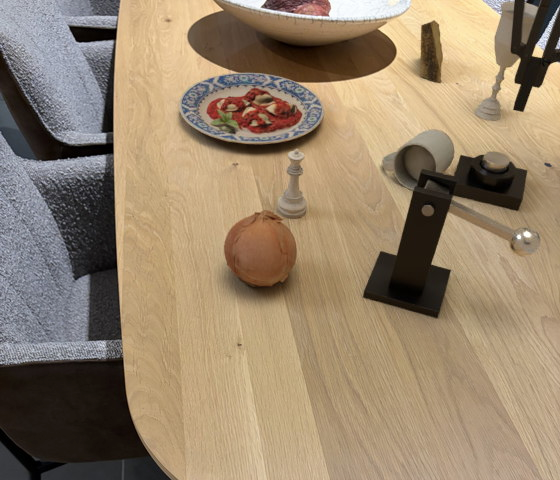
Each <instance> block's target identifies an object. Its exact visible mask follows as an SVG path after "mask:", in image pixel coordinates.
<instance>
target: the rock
mask: <svg viewBox="0 0 560 480" xmlns="http://www.w3.org/2000/svg"><path fill="white" fill-rule="evenodd" d="M440 30H441V29H440V23H438V22H437V21H436V20H435V19H434V20H431V21H430V22H426V23H424V24H421V25H420V76H421V77H422V78H425V79H427V80H429V81H432V82H438V83H441V82H442V64H443V61H444V54H443V48H442V47H443V46H442V42H441V31H440Z"/></svg>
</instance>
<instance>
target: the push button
mask: <svg viewBox="0 0 560 480" xmlns="http://www.w3.org/2000/svg"><path fill="white" fill-rule="evenodd" d="M483 155H484V157H483V160H482V163H481V168H482V169H483V170H485V171H487V172H489V173H493V174H504V173H505V172H506V170H507V167H508V165H509V162H510V161H511V160H510V157H509V156H508V155H507V154H505V153H503V152H500V151H496V150H495V151H487V152H485V153H484V154H483Z"/></svg>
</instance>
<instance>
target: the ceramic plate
mask: <svg viewBox="0 0 560 480" xmlns="http://www.w3.org/2000/svg"><path fill="white" fill-rule="evenodd" d="M178 109H179V113H180V115H181V117H182V118H183V119H184V121H185V122H186V123H187V124H188V125H189V126H191V127H192V128H193V129H195V130H197V131H199V133H202V134H204V135H206V136H209V137H211V138H215V139H217V140H221V141H225V142H229V143H238V144H243V145H269V144H279V143H283V142H288V141H293V140H295V139H299V138H301V137H303V136H305V135H307V134H309V133H311V132H312V131H313V130H315V129H316V128H318V126H319V125H320V124H321V122H322V121H323V119H324V115H325V106H324V104H323V101H322V100H321V98H320V97H319V96H318V95H317V94H316V92H314V91H312V90H311V89H310V88H308V87H307V86H305V85H303V84H301V83H299V82H297V81H294V80H292V79H289V78H287V77H286V78H285V77H282V76H278V75H274V74H267V73H259V72H233V73H225V74H220V75H219V74H218V75H214V76H211V77H208V78H205V79H203V80H200V81H197V82H195V83H194V84H191V86H189V87H188V88H187V89H186V90H185V91H184V92H183V93H182V95H181V96H180V98H179V102H178Z"/></svg>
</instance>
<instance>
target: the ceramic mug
mask: <svg viewBox="0 0 560 480" xmlns="http://www.w3.org/2000/svg"><path fill="white" fill-rule="evenodd" d="M454 157H455V145H454V143H453V140H452V139H451V137H450V136H449V135H448V134H447V133H446V132H444V131H443V130H440V129H437V128H434V129H433V128H431V129H426V130H424V131H422V132H420V133H418V134H417V135H415V136H414V137H413V138H411V139H409V140H408V141H406V142H405V143H404V144H402V145H401V146H400V147H399V148H398V149H397V150H396V151H394V152H393V151H392V152H391V153H389V154H387V155H385V156H384V157H382V159H381V163H382V169H383V170H384V171H387V172H393V174H394V176H395V179H396V180H397V181H398V182H399V184H401V186H403V187H404V188H406V189H408V190H411V191H413V190H414V187H415V186H417V183H418V179H419V176H420V172H421V170H422V169H425V170H430V171H434V172H438V173H442V174H445V172H446V171H447V170H448V169H449V168H450V167H451V164H452V162H453V160H454Z"/></svg>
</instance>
